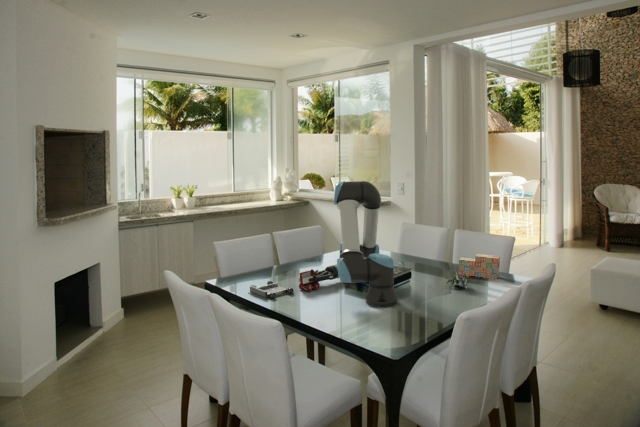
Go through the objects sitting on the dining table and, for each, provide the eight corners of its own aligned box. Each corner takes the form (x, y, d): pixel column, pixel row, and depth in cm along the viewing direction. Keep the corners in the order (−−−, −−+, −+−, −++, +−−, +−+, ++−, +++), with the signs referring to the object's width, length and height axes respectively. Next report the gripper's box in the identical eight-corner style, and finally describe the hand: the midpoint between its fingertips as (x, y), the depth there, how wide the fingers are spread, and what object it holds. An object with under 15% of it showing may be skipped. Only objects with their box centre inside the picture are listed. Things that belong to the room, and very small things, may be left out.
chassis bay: (295, 292, 243) (295, 286, 242) (267, 300, 231) (266, 293, 231) (273, 285, 258) (273, 278, 257) (245, 292, 246) (245, 285, 245)
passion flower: (464, 298, 245) (471, 284, 237) (444, 294, 246) (450, 280, 238) (463, 281, 253) (470, 267, 245) (443, 278, 254) (449, 263, 246)
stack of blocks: (458, 275, 270) (458, 254, 269) (461, 272, 276) (461, 252, 274) (497, 279, 259) (497, 258, 258) (499, 277, 265) (500, 255, 263)
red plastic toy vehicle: (322, 288, 250) (322, 269, 249) (305, 293, 242) (304, 273, 240) (313, 285, 255) (313, 267, 254) (296, 290, 247) (296, 271, 245)
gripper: (344, 281, 254) (311, 290, 239) (324, 275, 266) (291, 284, 251) (344, 268, 253) (310, 276, 238) (324, 262, 265) (291, 270, 250)
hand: (301, 280), depth 244 cm, fingers closed on red plastic toy vehicle, 3 cm apart
